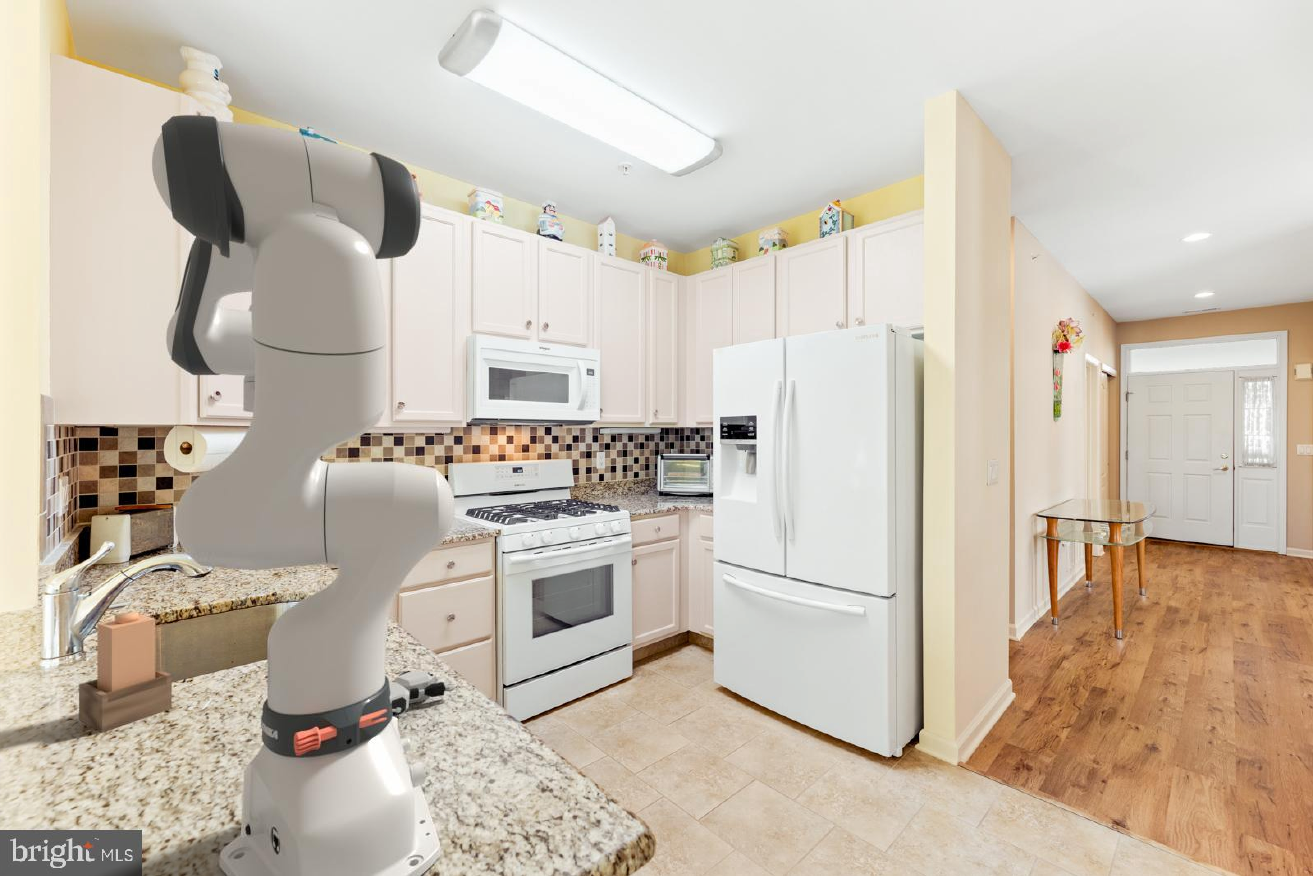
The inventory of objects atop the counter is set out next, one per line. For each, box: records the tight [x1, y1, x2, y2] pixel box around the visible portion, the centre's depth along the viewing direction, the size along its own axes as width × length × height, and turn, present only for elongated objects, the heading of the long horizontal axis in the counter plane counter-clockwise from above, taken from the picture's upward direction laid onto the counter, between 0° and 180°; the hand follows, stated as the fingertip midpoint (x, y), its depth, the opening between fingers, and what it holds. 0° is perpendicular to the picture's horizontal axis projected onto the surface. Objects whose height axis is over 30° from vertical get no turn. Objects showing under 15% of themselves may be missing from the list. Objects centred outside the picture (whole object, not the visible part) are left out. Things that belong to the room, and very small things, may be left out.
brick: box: [96, 611, 156, 693], centre depth 84 cm, size 5×5×11 cm
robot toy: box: [389, 670, 455, 718], centre depth 86 cm, size 12×4×15 cm
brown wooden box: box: [78, 667, 173, 733], centre depth 84 cm, size 8×8×5 cm
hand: (276, 485), depth 92 cm, fingers open, 8 cm apart
